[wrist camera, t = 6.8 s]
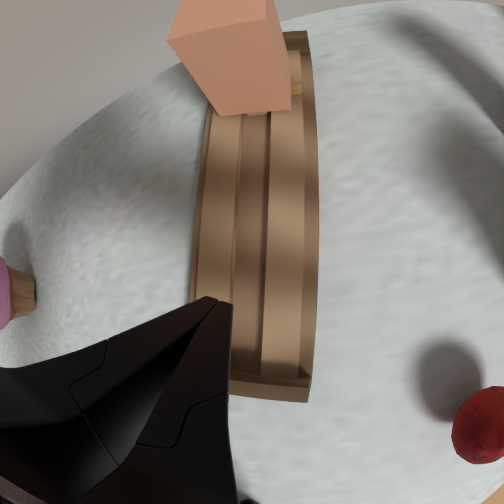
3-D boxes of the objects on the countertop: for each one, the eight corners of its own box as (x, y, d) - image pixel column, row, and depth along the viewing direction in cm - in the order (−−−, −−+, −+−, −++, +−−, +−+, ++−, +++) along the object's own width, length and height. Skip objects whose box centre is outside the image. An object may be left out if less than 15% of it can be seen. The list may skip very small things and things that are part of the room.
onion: (479, 439, 15) (519, 481, 7) (428, 438, 16) (460, 491, 8) (504, 377, 15) (558, 403, 7) (454, 372, 17) (505, 406, 9)
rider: (292, 115, 20) (265, 19, 11) (223, 121, 22) (166, 40, 12) (291, 70, 21) (266, -21, 12) (228, 77, 22) (183, -2, 13)
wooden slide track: (311, 383, 19) (307, 402, 16) (195, 370, 22) (172, 383, 18) (311, 58, 23) (306, 30, 19) (221, 68, 25) (207, 44, 21)
